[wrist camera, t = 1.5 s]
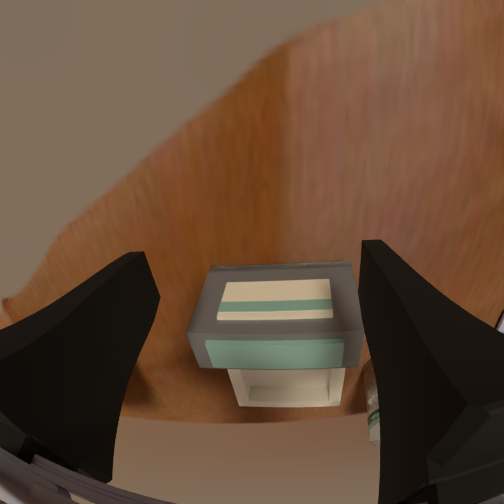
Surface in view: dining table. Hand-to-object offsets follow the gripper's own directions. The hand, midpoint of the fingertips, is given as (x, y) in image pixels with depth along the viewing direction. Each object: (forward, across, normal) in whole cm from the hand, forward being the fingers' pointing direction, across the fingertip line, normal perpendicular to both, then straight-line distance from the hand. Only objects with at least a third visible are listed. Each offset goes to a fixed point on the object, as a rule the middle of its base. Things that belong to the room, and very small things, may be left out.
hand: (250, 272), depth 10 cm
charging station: (+8, 0, +12) cm, 15 cm away
